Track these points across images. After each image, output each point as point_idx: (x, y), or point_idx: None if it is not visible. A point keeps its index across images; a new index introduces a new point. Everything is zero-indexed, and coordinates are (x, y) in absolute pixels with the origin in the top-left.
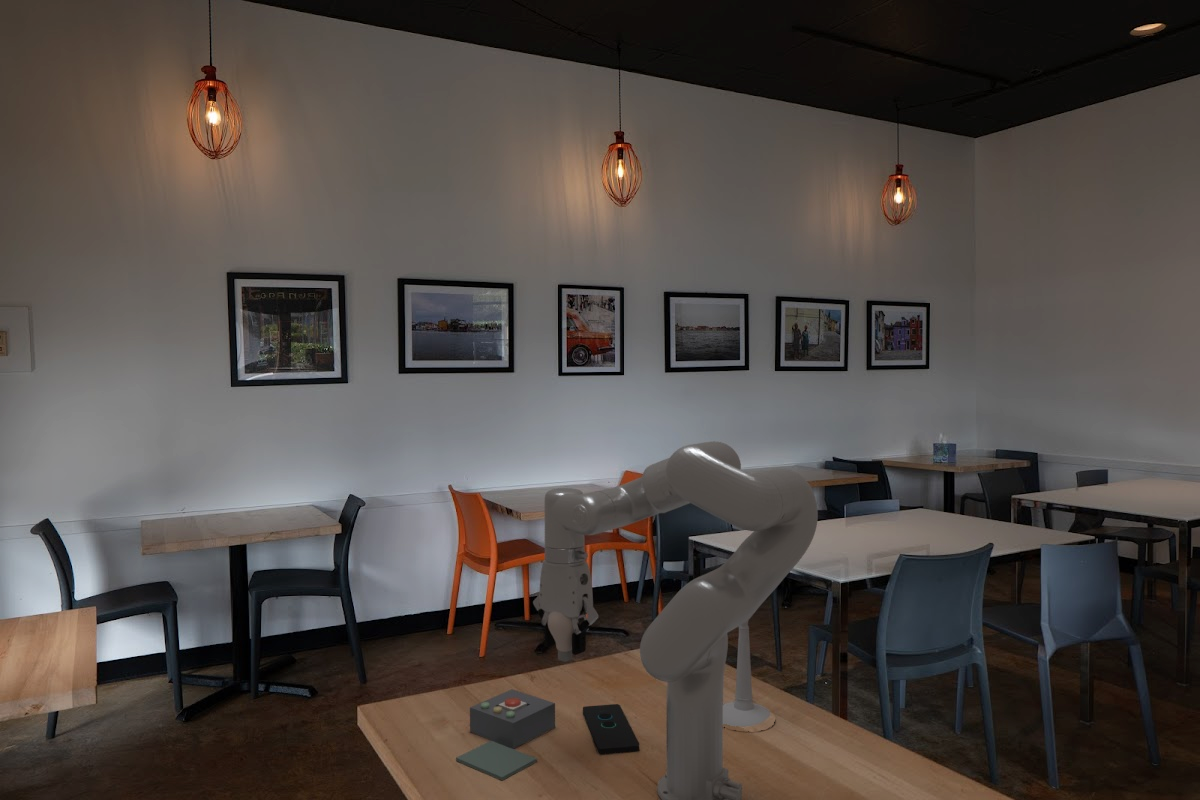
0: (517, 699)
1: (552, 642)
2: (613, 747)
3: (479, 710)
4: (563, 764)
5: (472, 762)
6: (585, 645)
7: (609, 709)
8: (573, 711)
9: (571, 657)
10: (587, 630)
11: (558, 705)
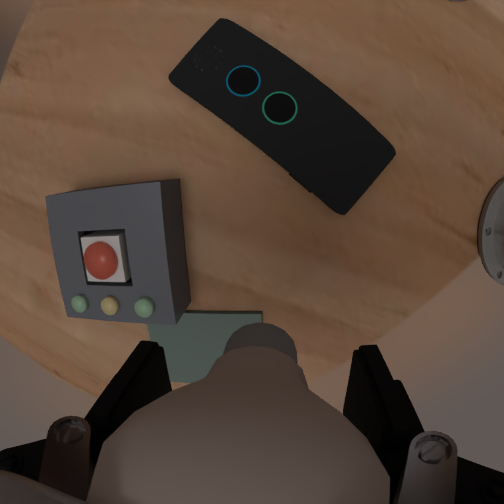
0: (99, 248)
1: (165, 389)
2: (361, 191)
3: (87, 317)
4: (309, 289)
5: (190, 379)
6: (402, 386)
7: (224, 47)
8: (154, 94)
9: (295, 349)
10: (441, 437)
11: (112, 98)
